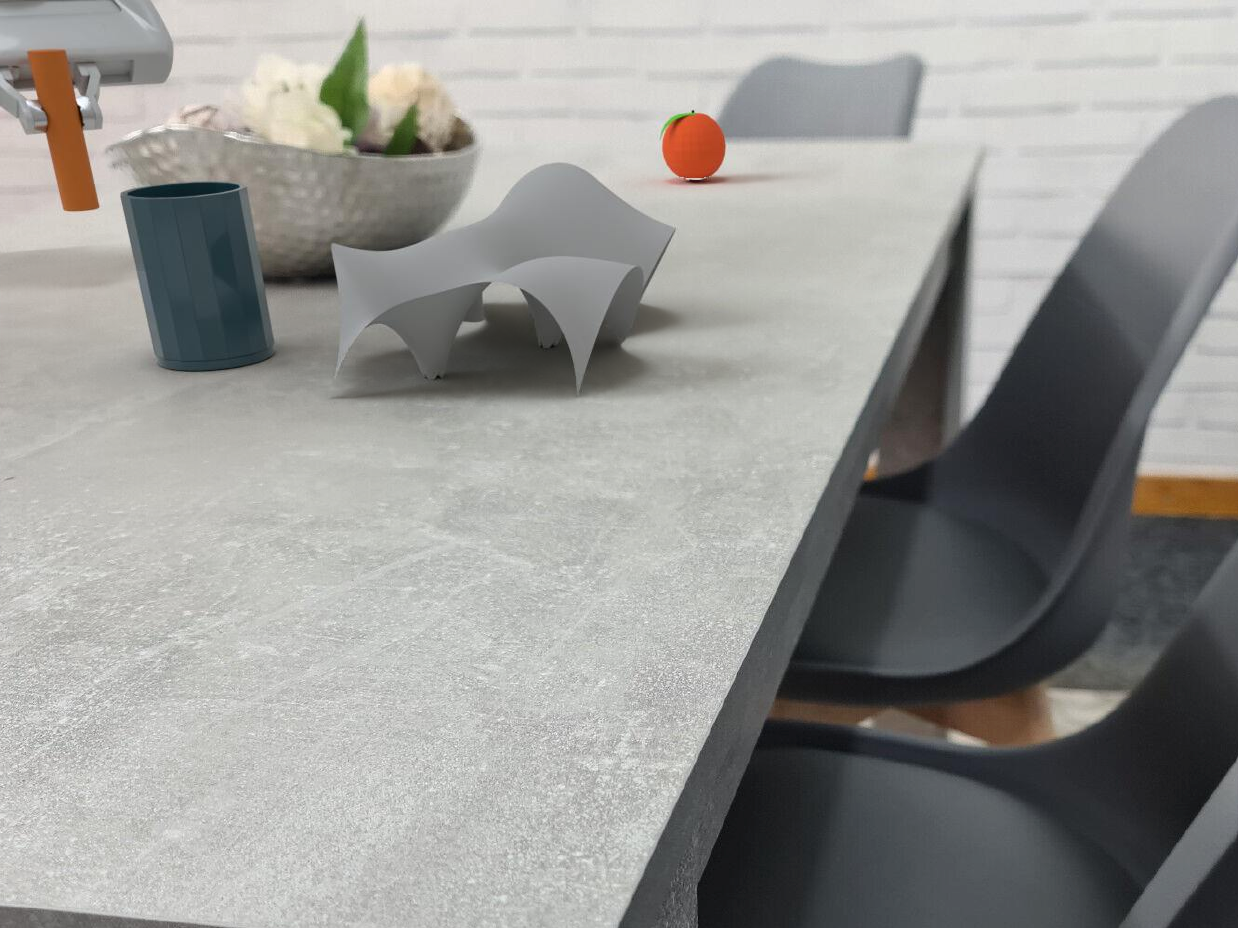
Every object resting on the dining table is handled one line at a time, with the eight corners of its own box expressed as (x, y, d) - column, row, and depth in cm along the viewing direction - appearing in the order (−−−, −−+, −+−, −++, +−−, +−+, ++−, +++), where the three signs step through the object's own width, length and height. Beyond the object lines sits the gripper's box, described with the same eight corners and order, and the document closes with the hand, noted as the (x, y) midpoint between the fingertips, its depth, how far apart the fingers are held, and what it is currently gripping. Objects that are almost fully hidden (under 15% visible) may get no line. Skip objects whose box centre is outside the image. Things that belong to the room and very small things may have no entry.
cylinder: (62, 212, 109) (25, 51, 104) (64, 207, 111) (27, 50, 106) (99, 210, 110) (64, 50, 104) (100, 205, 112) (66, 48, 106)
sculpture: (640, 398, 81) (630, 215, 76) (311, 398, 82) (281, 218, 77) (689, 302, 102) (683, 155, 98) (429, 303, 104) (411, 159, 99)
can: (157, 376, 87) (119, 202, 82) (156, 350, 93) (120, 186, 88) (279, 363, 89) (249, 192, 85) (271, 338, 95) (242, 178, 90)
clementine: (681, 188, 152) (678, 115, 149) (642, 182, 157) (639, 111, 154) (739, 180, 157) (738, 109, 153) (700, 174, 161) (698, 105, 158)
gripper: (-160, -56, 101) (-91, 104, 99) (135, -58, 112) (204, 86, 110) (-152, 15, 106) (-85, 168, 104) (130, 6, 117) (195, 145, 115)
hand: (65, 126), depth 107 cm, fingers closed on cylinder, 2 cm apart
